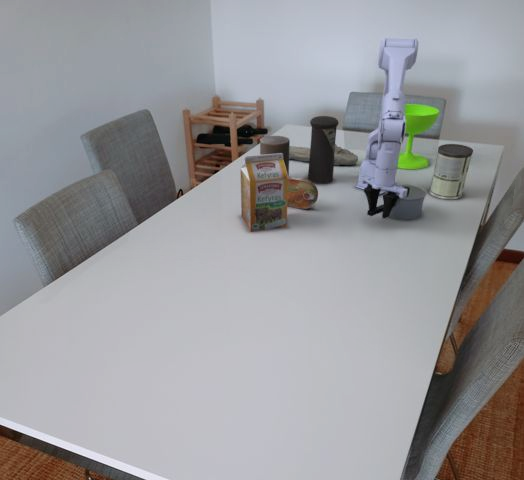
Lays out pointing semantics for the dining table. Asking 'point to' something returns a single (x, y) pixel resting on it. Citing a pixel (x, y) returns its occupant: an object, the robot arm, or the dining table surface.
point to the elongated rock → (339, 157)
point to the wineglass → (416, 123)
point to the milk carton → (264, 192)
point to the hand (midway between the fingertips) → (378, 214)
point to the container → (322, 149)
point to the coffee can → (450, 171)
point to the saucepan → (405, 205)
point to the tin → (301, 193)
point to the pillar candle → (276, 147)
